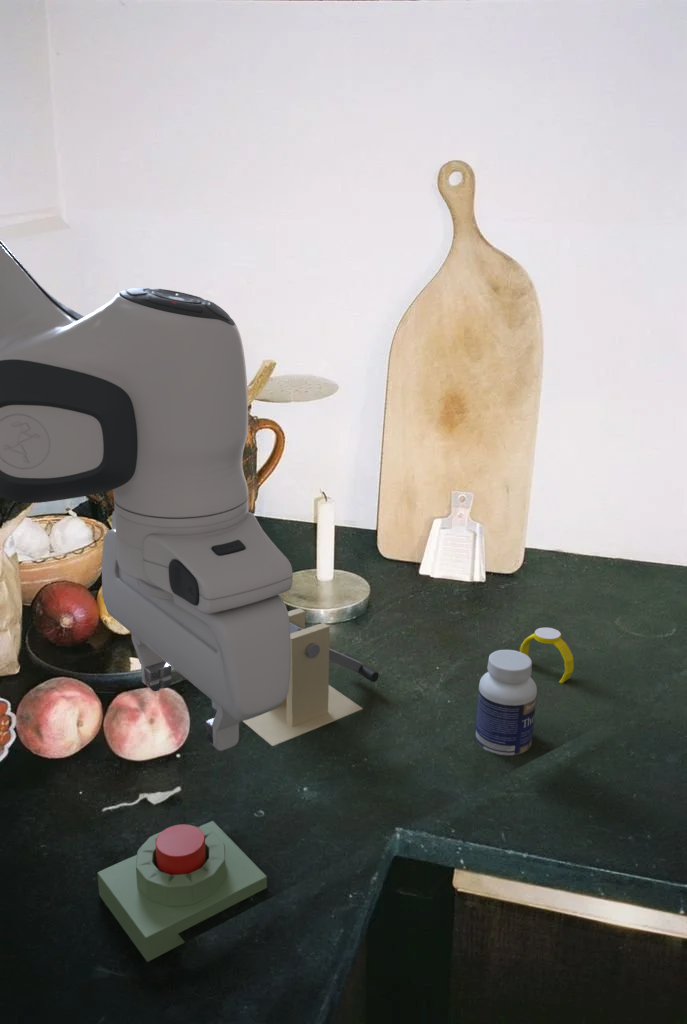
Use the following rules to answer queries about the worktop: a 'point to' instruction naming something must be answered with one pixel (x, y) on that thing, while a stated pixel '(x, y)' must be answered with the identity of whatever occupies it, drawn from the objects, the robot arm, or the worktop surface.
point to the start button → (180, 849)
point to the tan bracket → (304, 688)
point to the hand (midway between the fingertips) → (188, 713)
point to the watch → (554, 638)
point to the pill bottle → (506, 704)
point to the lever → (345, 660)
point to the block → (176, 891)
